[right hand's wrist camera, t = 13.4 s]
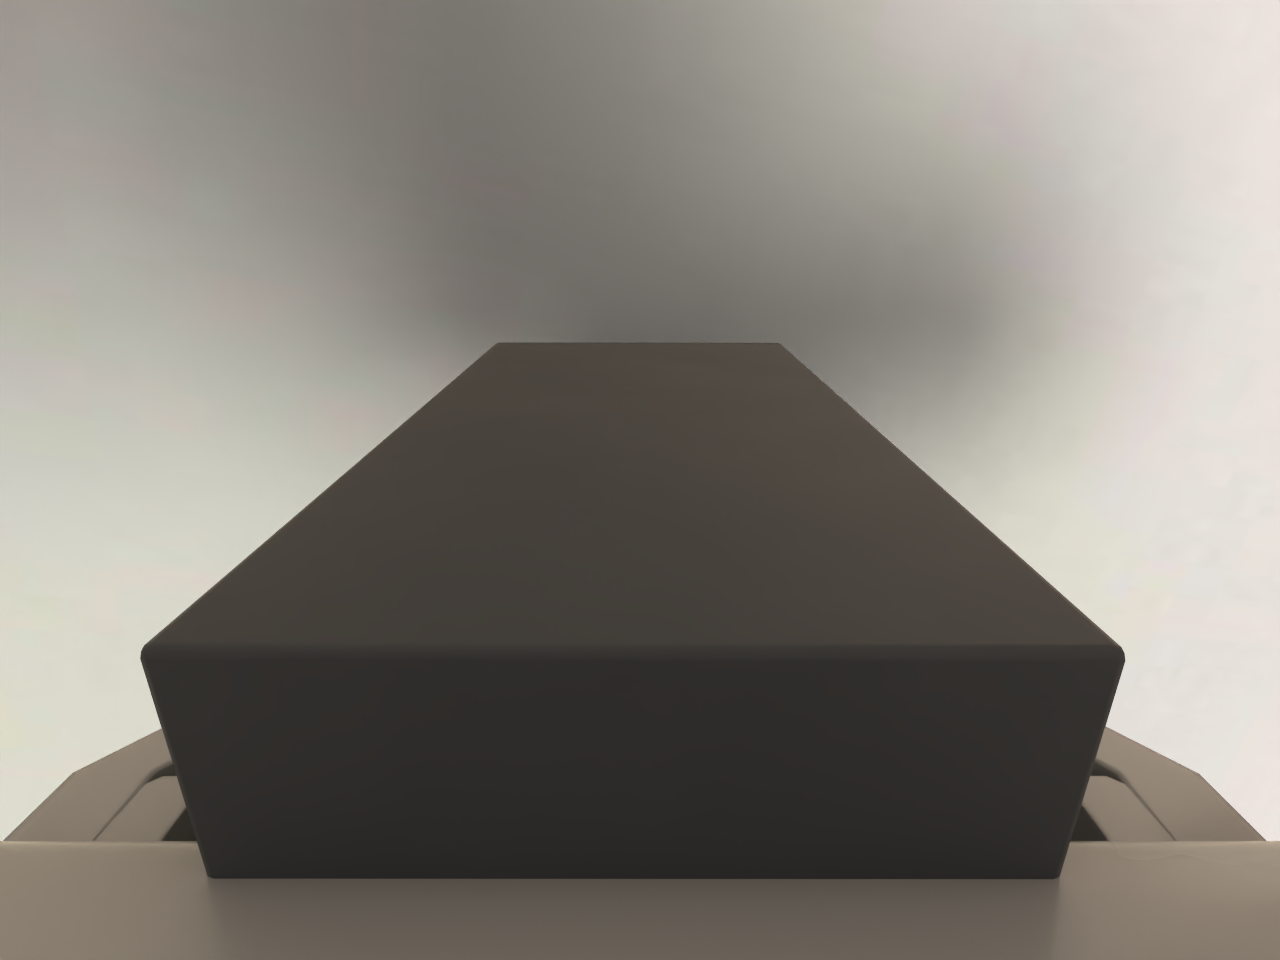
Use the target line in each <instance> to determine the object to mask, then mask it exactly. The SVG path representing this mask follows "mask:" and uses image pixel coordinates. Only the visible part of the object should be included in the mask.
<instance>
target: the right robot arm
mask: <svg viewBox="0 0 1280 960" xmlns="http://www.w3.org/2000/svg"><path fill="white" fill-rule="evenodd" d="M0 960H1280V841H1266V840H1265V839H1264V838H1263V837H1262V836H1261V835H1260V834H1259V833H1258V832H1257V831H1256V830H1255V829H1254V828H1253V827H1252V826H1251V825H1250V824H1249V823H1248V822H1247V821H1246V820H1245V819H1244V818H1243V817H1242V816H1241V815H1240V814H1239V813H1238V812H1237V811H1236V810H1235V809H1234V808H1233V807H1232V806H1231V805H1230V804H1229V803H1228V802H1227V801H1226V800H1225V799H1224V798H1223V797H1222V796H1221V795H1220V794H1219V793H1218V792H1217V791H1216V790H1215V789H1214V788H1213V787H1212V786H1211V785H1210V784H1209V783H1208V782H1207V781H1206V780H1205V779H1204V778H1203V777H1202V776H1201V775H1200V774H1198V773H1196V772H1194V771H1192V770H1190V769H1188V768H1186V767H1184V766H1182V765H1180V764H1178V763H1176V762H1175V761H1173V760H1171V759H1169V758H1167V757H1165V756H1163V755H1161V754H1159V753H1157V752H1155V751H1153V750H1151V749H1149V748H1147V747H1145V746H1143V745H1141V744H1139V743H1137V742H1135V741H1133V740H1131V739H1129V738H1127V737H1125V736H1123V735H1121V734H1119V733H1117V732H1115V731H1113V730H1111V729H1109V728H1107V727H1106V726H1105V729H1104V732H1103V735H1102V739H1101V742H1100V745H1099V749H1098V752H1097V755H1096V758H1095V762H1094V765H1093V768H1092V772H1091V775H1090V778H1089V782H1088V785H1087V788H1086V791H1085V795H1084V798H1083V801H1082V805H1081V808H1080V811H1079V814H1078V818H1077V821H1076V824H1075V828H1074V831H1073V834H1072V837H1071V841H1070V844H1069V847H1068V851H1067V854H1066V857H1065V861H1064V864H1063V867H1062V870H1061V874H1060V877H1058V878H1055V879H213V878H211V877H209V876H207V873H206V870H205V867H204V863H203V860H202V857H201V854H200V850H199V847H198V844H197V841H196V837H195V834H194V831H193V828H192V824H191V821H190V818H189V815H188V811H187V808H186V805H185V802H184V798H183V795H182V792H181V789H180V785H179V782H178V779H177V776H176V772H175V769H174V766H173V763H172V759H171V756H170V753H169V750H168V747H167V743H166V740H165V737H164V734H163V730H162V729H160V730H158V731H156V732H154V733H152V734H150V735H148V736H146V737H144V738H142V739H140V740H138V741H136V742H134V743H132V744H130V745H128V746H126V747H124V748H122V749H120V750H118V751H116V752H114V753H112V754H110V755H108V756H106V757H104V758H102V759H100V760H98V761H96V762H94V763H92V764H90V765H88V766H86V767H84V768H82V769H80V770H78V771H76V772H74V773H72V774H71V775H70V776H69V777H68V778H67V779H66V780H65V781H64V782H63V783H62V784H61V785H60V786H59V787H58V788H57V789H56V790H55V791H54V792H53V793H52V794H51V795H50V796H49V797H48V798H47V799H46V800H45V801H44V802H42V803H41V804H40V805H39V806H38V807H37V808H36V809H35V810H34V811H33V812H32V813H31V814H30V815H29V816H28V817H27V818H26V819H25V820H24V821H23V822H22V823H21V824H20V825H19V826H18V827H17V828H16V829H15V830H14V831H13V832H12V833H11V834H10V835H9V836H8V837H7V838H5V839H4V840H3V841H0Z"/></svg>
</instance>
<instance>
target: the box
mask: <svg viewBox="0 0 1280 960" xmlns="http://www.w3.org/2000/svg"><path fill="white" fill-rule="evenodd" d="M140 659H141V662H142V665H143V669H144V672H145V675H146V678H147V682H148V685H149V688H150V691H151V695H152V698H153V701H154V704H155V708H156V711H157V714H158V717H159V721H160V724H161V727H162V730H163V734H164V737H165V740H166V743H167V747H168V750H169V753H170V756H171V759H172V763H173V766H174V769H175V772H176V776H177V779H178V782H179V785H180V789H181V792H182V795H183V798H184V802H185V805H186V808H187V811H188V815H189V818H190V821H191V824H192V828H193V831H194V834H195V837H196V841H197V844H198V847H199V850H200V854H201V857H202V860H203V863H204V867H205V870H206V873H207V876H209V877H211V878H213V879H1055V878H1058V877H1060V874H1061V870H1062V867H1063V864H1064V861H1065V857H1066V854H1067V851H1068V847H1069V844H1070V841H1071V837H1072V834H1073V831H1074V828H1075V824H1076V821H1077V818H1078V814H1079V811H1080V808H1081V805H1082V801H1083V798H1084V795H1085V791H1086V788H1087V785H1088V782H1089V778H1090V775H1091V772H1092V768H1093V765H1094V762H1095V758H1096V755H1097V752H1098V749H1099V745H1100V742H1101V739H1102V735H1103V732H1104V729H1105V726H1106V722H1107V719H1108V716H1109V712H1110V709H1111V706H1112V702H1113V699H1114V696H1115V693H1116V689H1117V686H1118V683H1119V679H1120V676H1121V673H1122V670H1123V666H1124V663H1125V655H1124V652H1123V650H1122V648H1121V647H1120V646H1119V645H1118V644H1117V643H1116V642H1115V641H1114V640H1113V639H1111V638H1110V637H1109V636H1108V635H1107V634H1106V633H1105V632H1104V631H1102V630H1101V629H1100V628H1099V627H1098V626H1097V625H1096V624H1095V623H1093V622H1092V621H1091V620H1090V619H1089V618H1088V617H1087V616H1086V615H1084V614H1083V613H1082V612H1081V611H1080V610H1079V609H1078V608H1077V607H1075V606H1074V605H1073V604H1072V603H1071V602H1070V601H1069V600H1068V599H1066V598H1065V597H1064V596H1063V595H1062V594H1061V593H1060V592H1059V591H1057V590H1056V589H1055V588H1054V587H1053V586H1052V585H1051V584H1050V583H1048V582H1047V581H1046V580H1045V579H1044V578H1043V577H1042V576H1041V575H1039V574H1038V573H1037V572H1036V571H1035V570H1034V569H1033V568H1032V567H1030V566H1029V565H1028V564H1027V563H1026V562H1025V561H1024V560H1023V559H1021V558H1020V557H1019V556H1018V555H1017V554H1016V553H1015V552H1014V551H1012V550H1011V549H1010V548H1009V547H1008V546H1007V545H1006V544H1005V543H1003V542H1002V541H1001V540H1000V539H999V538H998V537H997V536H996V535H994V534H993V533H992V532H991V531H990V530H989V529H988V528H987V527H985V526H984V525H983V524H982V523H981V522H980V521H979V520H978V519H976V518H975V517H974V516H973V515H972V514H971V513H970V512H969V511H967V510H966V509H965V508H964V507H963V506H962V505H961V504H960V503H958V502H957V501H956V500H955V499H954V498H953V497H952V496H951V495H949V494H948V493H947V492H946V491H945V490H944V489H943V488H942V487H941V486H939V485H938V484H937V483H936V482H935V481H934V480H933V479H932V478H930V477H929V476H928V475H927V474H926V473H925V472H924V471H923V470H921V469H920V468H919V467H918V466H917V465H916V464H915V463H914V462H912V461H911V460H910V459H909V458H908V457H907V456H906V455H905V454H903V453H902V452H901V451H900V450H899V449H898V448H897V447H896V446H894V445H893V444H892V443H891V442H890V441H889V440H888V439H887V438H885V437H884V436H883V435H882V434H881V433H880V432H879V431H878V430H876V429H875V428H874V427H873V426H872V425H871V424H870V423H869V422H867V421H866V420H865V419H864V418H863V417H862V416H861V415H860V414H858V413H857V412H856V411H855V410H854V409H853V408H852V407H851V406H849V405H848V404H847V403H846V402H845V401H844V400H843V399H842V398H840V397H839V396H838V395H837V394H836V393H835V392H834V391H833V390H831V389H830V388H829V387H828V386H827V385H826V384H825V383H824V382H822V381H821V380H820V379H819V378H818V377H817V376H816V375H815V374H813V373H812V372H811V371H810V370H809V369H808V368H807V367H806V366H804V365H803V364H802V363H801V362H800V361H799V360H798V359H797V358H795V357H794V356H793V355H792V354H791V353H790V352H789V351H788V350H786V349H785V348H784V347H783V346H782V345H781V344H779V343H497V344H495V345H494V346H493V347H492V348H491V349H490V350H488V351H487V352H486V353H485V354H484V355H483V356H481V357H480V358H479V359H478V360H477V361H476V362H474V363H473V364H472V365H471V366H470V367H469V368H467V369H466V370H465V371H464V372H463V373H462V374H460V375H459V376H458V377H457V378H456V379H455V380H453V381H452V382H451V383H450V384H449V385H448V386H446V387H445V388H444V389H443V390H442V391H441V392H439V393H438V394H437V395H436V396H435V397H434V398H432V399H431V400H430V401H429V402H428V403H427V404H425V405H424V406H423V407H422V408H421V409H420V410H418V411H417V412H416V413H415V414H414V415H413V416H411V417H410V418H409V419H408V420H407V421H406V422H404V423H403V424H402V425H401V426H400V427H399V428H397V429H396V430H395V431H394V432H393V433H392V434H390V435H389V436H388V437H387V438H386V439H385V440H383V441H382V442H381V443H380V444H379V445H378V446H376V447H375V448H374V449H373V450H372V451H371V452H369V453H368V454H367V455H366V456H365V457H364V458H362V459H361V460H360V461H359V462H358V463H357V464H355V465H354V466H353V467H352V468H351V469H350V470H348V471H347V472H346V473H345V474H344V475H343V476H341V477H340V478H339V479H338V480H337V481H336V482H334V483H333V484H332V485H331V486H330V487H329V488H327V489H326V490H325V491H324V492H323V493H322V494H320V495H319V496H318V497H317V498H316V499H315V500H313V501H312V502H311V503H310V504H309V505H308V506H306V507H305V508H304V509H303V510H302V511H301V512H299V513H298V514H297V515H296V516H295V517H294V518H292V519H291V520H290V521H289V522H288V523H287V524H285V525H284V526H283V527H282V528H281V529H280V530H278V531H277V532H276V533H275V534H274V535H273V536H271V537H270V538H269V539H268V540H267V541H266V542H264V543H263V544H262V545H261V546H260V547H259V548H257V549H256V550H255V551H254V552H253V553H252V554H250V555H249V556H248V557H247V558H246V559H245V560H243V561H242V562H241V563H240V564H239V565H238V566H236V567H235V568H234V569H233V570H232V571H231V572H229V573H228V574H227V575H226V576H225V577H224V578H222V579H221V580H220V581H219V582H218V583H217V584H215V585H214V586H213V587H212V588H211V589H210V590H208V591H207V592H206V593H205V594H204V595H203V596H201V597H200V598H199V599H198V600H197V601H196V602H194V603H193V604H192V605H191V606H190V607H189V608H187V609H186V610H185V611H184V612H183V613H182V614H180V615H179V616H178V617H177V618H176V619H175V620H173V621H172V622H171V623H170V624H169V625H168V626H166V627H165V628H164V629H163V630H162V631H161V632H159V633H158V634H157V635H156V636H155V637H154V638H152V639H151V640H150V641H149V642H148V643H147V644H145V645H144V647H143V649H142V651H141V658H140Z"/></svg>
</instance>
